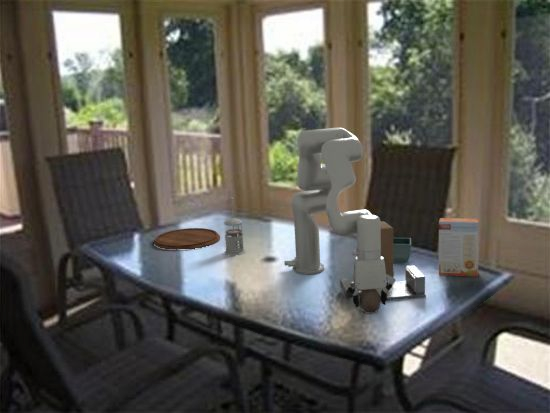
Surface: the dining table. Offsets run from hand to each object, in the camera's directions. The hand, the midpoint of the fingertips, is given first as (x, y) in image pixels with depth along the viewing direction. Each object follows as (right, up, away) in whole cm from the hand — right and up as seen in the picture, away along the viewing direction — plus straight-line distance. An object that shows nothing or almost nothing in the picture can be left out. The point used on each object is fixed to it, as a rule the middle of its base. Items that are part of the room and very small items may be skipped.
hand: (370, 304), depth 198 cm
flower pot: (+19, +9, +46) cm, 51 cm away
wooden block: (+7, +5, +31) cm, 33 cm away
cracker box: (+38, +7, +30) cm, 48 cm away
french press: (-48, +12, +71) cm, 87 cm away
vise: (+10, +2, +15) cm, 18 cm away
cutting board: (-73, +15, +93) cm, 119 cm away
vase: (0, -2, +1) cm, 2 cm away
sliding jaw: (-1, +2, +14) cm, 14 cm away
